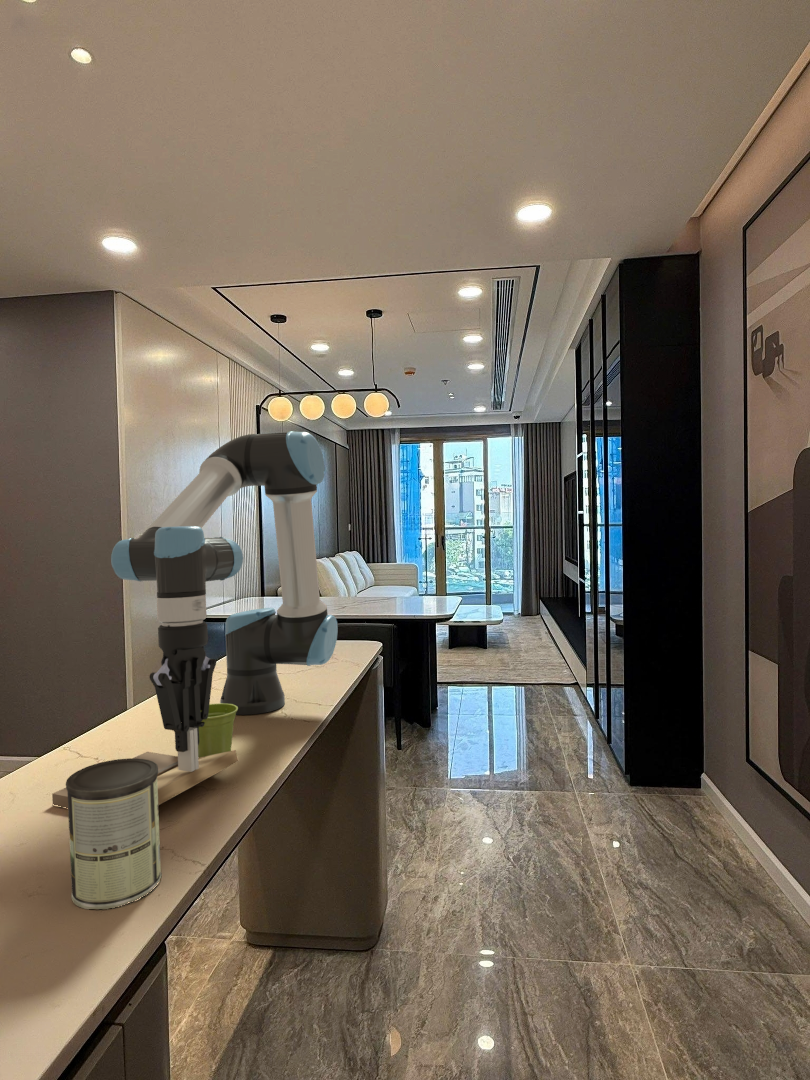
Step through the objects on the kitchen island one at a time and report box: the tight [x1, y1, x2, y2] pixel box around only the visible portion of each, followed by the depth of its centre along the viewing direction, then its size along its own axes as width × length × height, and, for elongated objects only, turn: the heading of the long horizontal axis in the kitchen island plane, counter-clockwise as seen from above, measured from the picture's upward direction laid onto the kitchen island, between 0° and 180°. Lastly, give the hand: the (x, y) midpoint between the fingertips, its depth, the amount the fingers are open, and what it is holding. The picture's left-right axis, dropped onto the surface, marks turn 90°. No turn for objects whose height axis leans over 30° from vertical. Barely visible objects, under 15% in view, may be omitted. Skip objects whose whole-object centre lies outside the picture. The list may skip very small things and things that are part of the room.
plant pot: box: [198, 702, 238, 758], centre depth 126 cm, size 9×9×9 cm
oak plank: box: [157, 749, 239, 806], centre depth 107 cm, size 20×10×2 cm, turn 157°
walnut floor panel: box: [51, 751, 178, 808], centre depth 112 cm, size 20×10×2 cm, turn 157°
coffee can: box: [65, 757, 162, 910], centre depth 81 cm, size 10×10×14 cm
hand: (188, 768), depth 106 cm, fingers closed
